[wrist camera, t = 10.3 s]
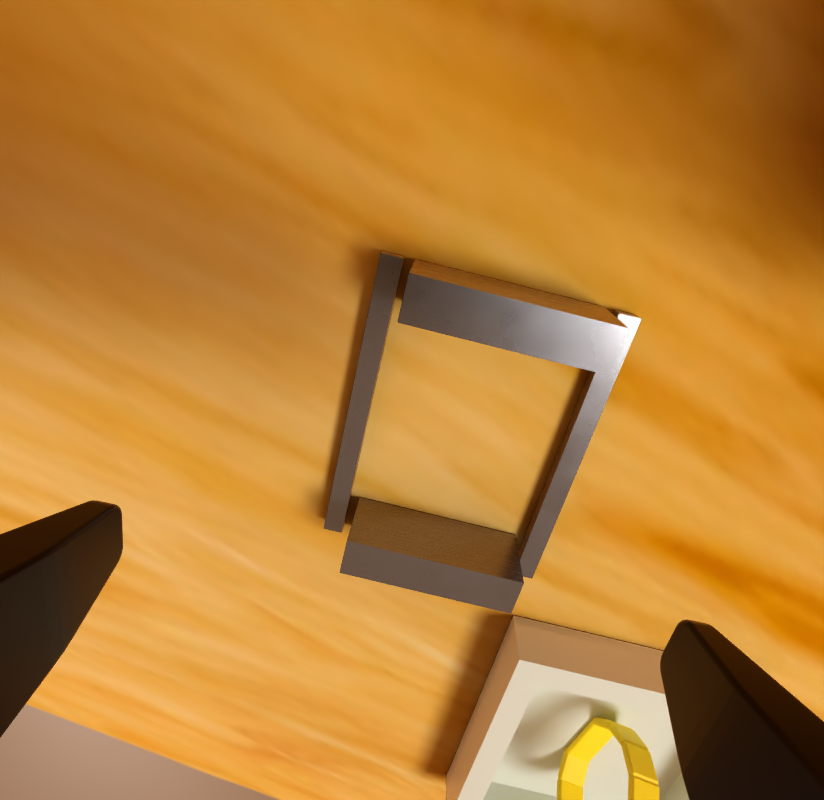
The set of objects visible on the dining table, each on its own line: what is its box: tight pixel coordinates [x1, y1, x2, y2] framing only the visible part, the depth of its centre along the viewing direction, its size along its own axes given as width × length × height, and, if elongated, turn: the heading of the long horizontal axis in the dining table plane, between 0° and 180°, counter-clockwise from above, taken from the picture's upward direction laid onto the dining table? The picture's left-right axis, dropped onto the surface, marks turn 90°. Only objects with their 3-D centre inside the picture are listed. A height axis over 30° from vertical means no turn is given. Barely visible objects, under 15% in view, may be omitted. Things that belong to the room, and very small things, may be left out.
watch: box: [557, 716, 659, 800], centre depth 24 cm, size 6×3×6 cm, turn 156°
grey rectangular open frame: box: [324, 251, 641, 613], centre depth 20 cm, size 9×12×3 cm
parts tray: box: [446, 615, 689, 800], centre depth 26 cm, size 12×12×2 cm
